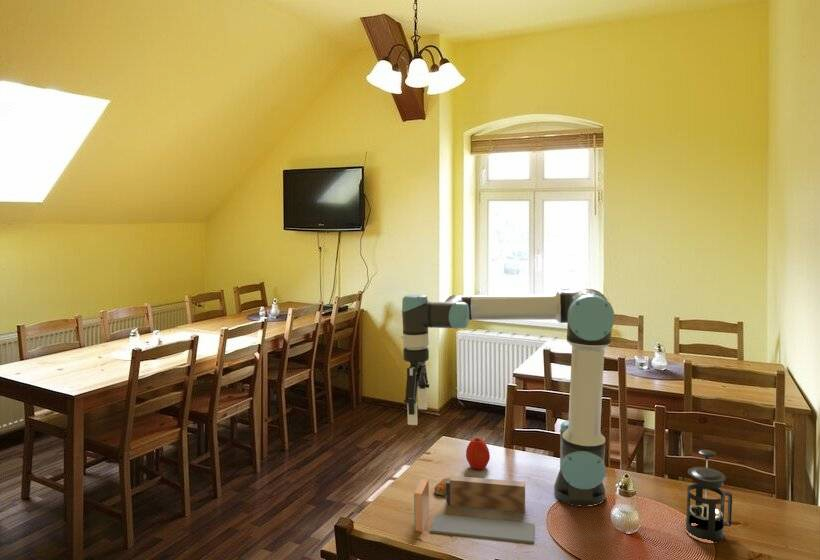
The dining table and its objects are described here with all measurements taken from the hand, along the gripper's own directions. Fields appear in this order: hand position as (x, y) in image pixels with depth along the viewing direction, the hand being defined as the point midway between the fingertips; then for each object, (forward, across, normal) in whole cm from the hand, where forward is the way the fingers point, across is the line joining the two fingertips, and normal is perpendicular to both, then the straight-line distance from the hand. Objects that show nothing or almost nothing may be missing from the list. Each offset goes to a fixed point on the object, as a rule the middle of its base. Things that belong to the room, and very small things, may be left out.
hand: (417, 416), depth 175 cm
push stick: (+27, -1, +20) cm, 34 cm away
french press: (+28, +3, +79) cm, 84 cm away
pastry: (+27, -9, +7) cm, 30 cm away
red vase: (+27, -27, +14) cm, 41 cm away
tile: (+27, +12, +3) cm, 30 cm away
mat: (+27, +12, +20) cm, 36 cm away
